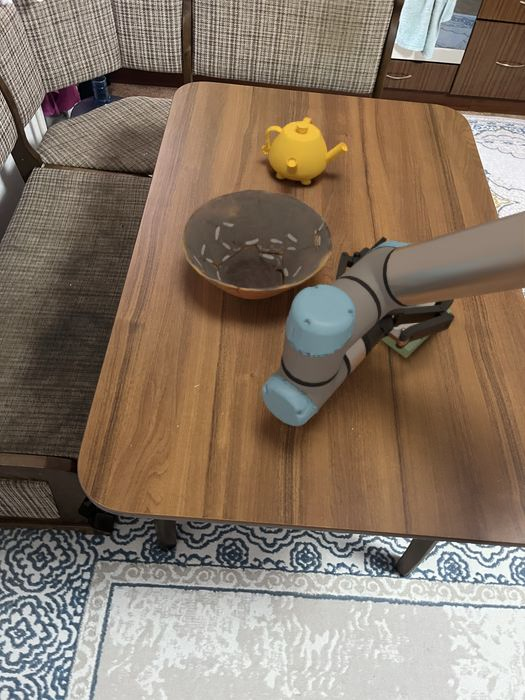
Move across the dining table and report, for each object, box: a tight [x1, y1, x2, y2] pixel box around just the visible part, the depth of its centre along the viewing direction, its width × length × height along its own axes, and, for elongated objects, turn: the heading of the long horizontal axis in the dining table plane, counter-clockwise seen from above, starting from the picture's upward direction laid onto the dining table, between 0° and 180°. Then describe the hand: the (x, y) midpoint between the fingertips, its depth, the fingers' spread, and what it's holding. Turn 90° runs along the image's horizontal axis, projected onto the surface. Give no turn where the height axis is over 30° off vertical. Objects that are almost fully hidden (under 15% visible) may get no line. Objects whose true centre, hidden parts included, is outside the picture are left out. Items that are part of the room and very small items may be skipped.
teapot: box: [261, 116, 348, 186], centre depth 112 cm, size 14×14×11 cm
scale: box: [380, 302, 452, 359], centre depth 92 cm, size 14×13×3 cm
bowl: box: [181, 189, 333, 300], centre depth 93 cm, size 25×25×10 cm
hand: (418, 263), depth 87 cm, fingers open, 13 cm apart
